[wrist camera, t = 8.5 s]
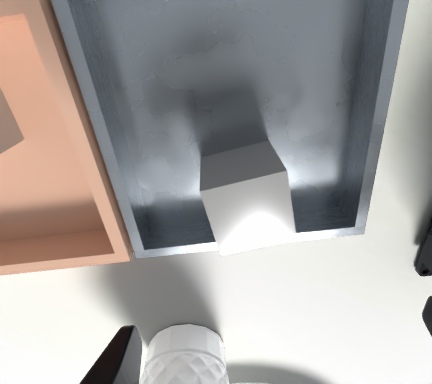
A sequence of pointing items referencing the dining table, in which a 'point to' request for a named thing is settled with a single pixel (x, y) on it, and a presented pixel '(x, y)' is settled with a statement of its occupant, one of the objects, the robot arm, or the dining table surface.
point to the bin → (234, 103)
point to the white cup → (185, 357)
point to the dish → (51, 155)
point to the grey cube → (247, 198)
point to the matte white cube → (8, 126)
